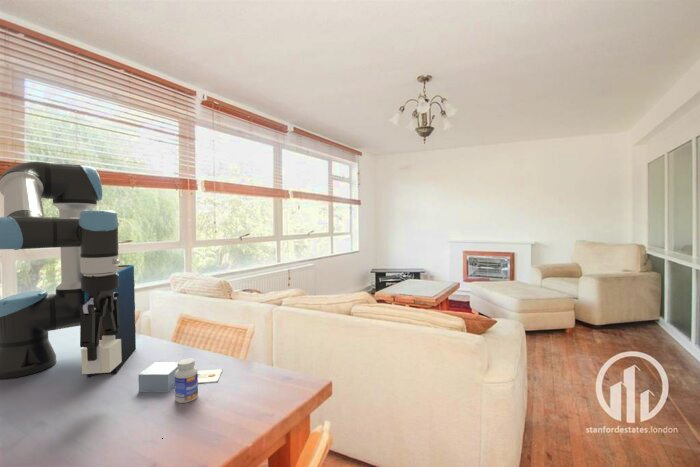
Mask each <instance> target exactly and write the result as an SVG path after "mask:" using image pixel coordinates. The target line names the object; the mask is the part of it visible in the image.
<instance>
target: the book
mask: <svg viewBox="0 0 700 467" xmlns="http://www.w3.org/2000/svg"><path fill="white" fill-rule="evenodd" d="M116 273H118V274H119V287H118V288H117V289H114V290H113V292H119V319H120V328H119V329H117V330H120V333H119V334H115V339H121V356H122V362H121V363H120V364H119V365H118V366H117V367H115V368H114V369H113V370H112V371H111V372H108V373H110V374H112V375H117V373H118V372H119V371H120V370H121V368H122V367H123V366H124V365H125V364H126V362H127V361H128V360H129V358H130V357H131V356H132V354H134V352H135V351H136V349H137V346H136V345H137V344H136V343H137V342H136V339H137V338H136V334H137V333H136V302H135V299H136V297H135V265H133V264H123V265H122V264H121V265H120V264H118V271H117V272H116ZM87 298H88V293H87V292H85V304H86V303H87ZM115 325H116V324H115ZM103 335H106V334H104V331H103V326H102V325H101V332H100V340H102V336H103ZM100 374H101V373H94V374H86V377H87V378H91V377H92V376H94V375H100Z"/></svg>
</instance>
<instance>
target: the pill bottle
mask: <svg viewBox="0 0 700 467" xmlns="http://www.w3.org/2000/svg"><path fill="white" fill-rule="evenodd" d="M177 362H178V363H177V367H178V370H177V371H176V372H175V386H174V401H175V402H177V403H179V404H184V403H185V404H186V403H190V402H192V401H194V400H196V399H197V398H198V396H199V387H198V386H199V383H198V371H199V369H198V368H197V367H196V366H195V365H196V363H195V359H194V358H190V357H188V358H183V359H180V360H179V361H177Z"/></svg>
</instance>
